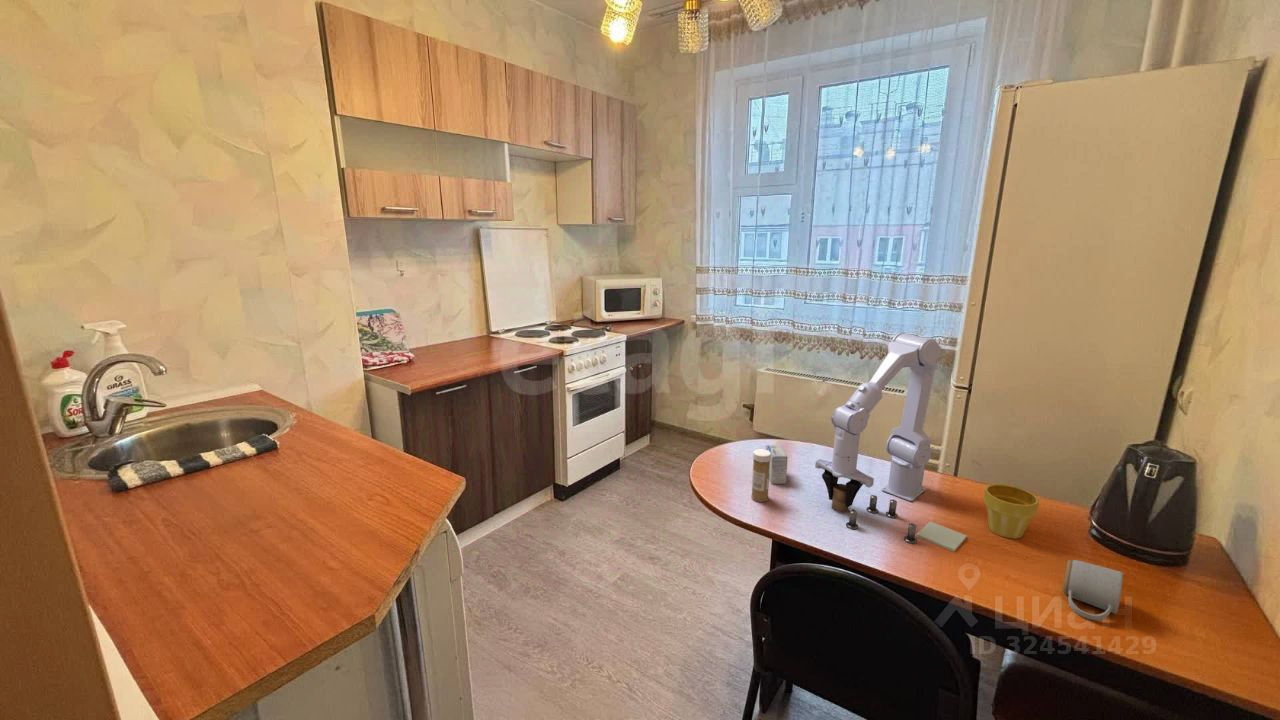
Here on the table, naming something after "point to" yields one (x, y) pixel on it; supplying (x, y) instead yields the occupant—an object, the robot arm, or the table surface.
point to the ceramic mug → (1093, 587)
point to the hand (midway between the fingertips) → (840, 501)
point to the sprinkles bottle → (760, 475)
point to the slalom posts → (891, 514)
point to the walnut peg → (839, 498)
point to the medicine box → (777, 464)
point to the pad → (941, 536)
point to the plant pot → (1009, 509)
